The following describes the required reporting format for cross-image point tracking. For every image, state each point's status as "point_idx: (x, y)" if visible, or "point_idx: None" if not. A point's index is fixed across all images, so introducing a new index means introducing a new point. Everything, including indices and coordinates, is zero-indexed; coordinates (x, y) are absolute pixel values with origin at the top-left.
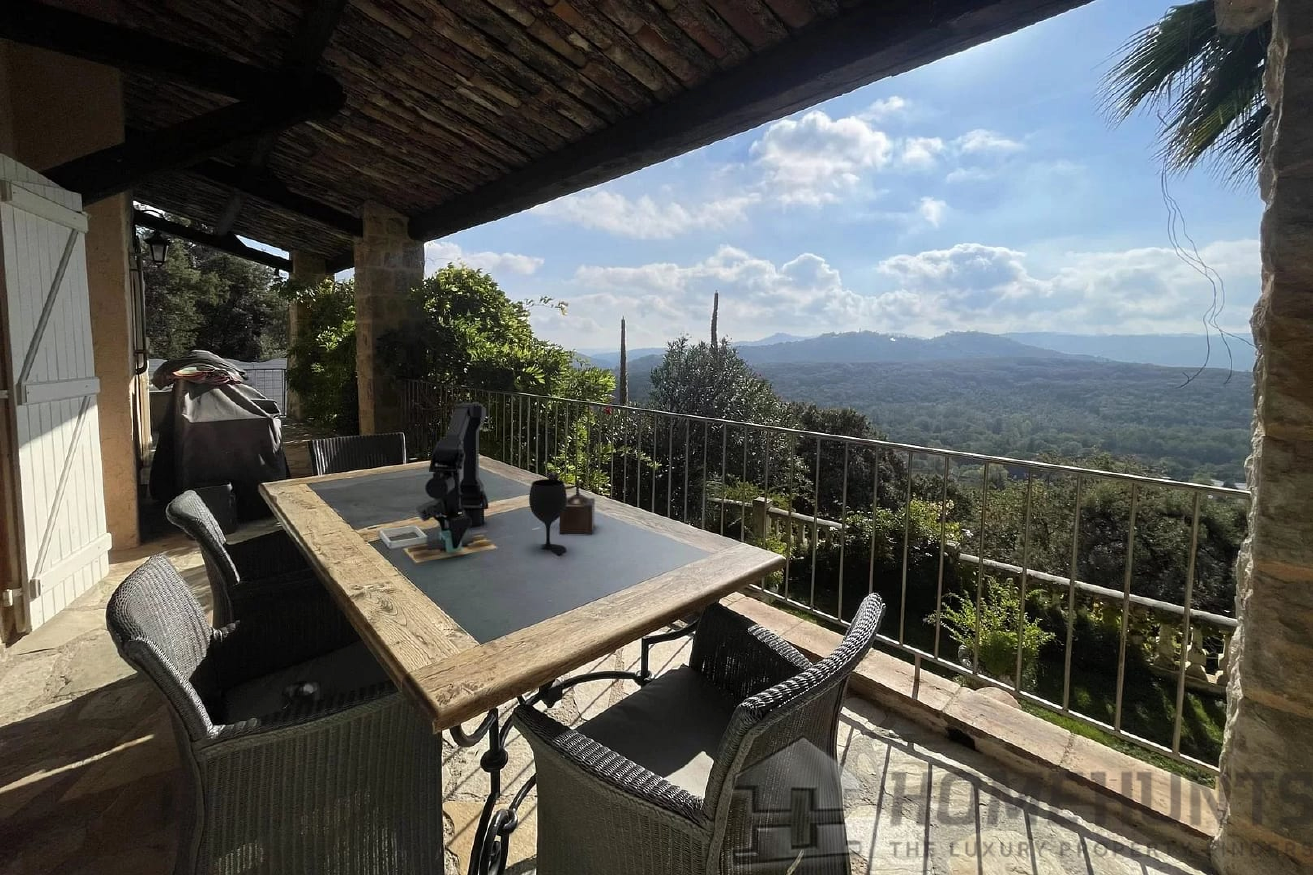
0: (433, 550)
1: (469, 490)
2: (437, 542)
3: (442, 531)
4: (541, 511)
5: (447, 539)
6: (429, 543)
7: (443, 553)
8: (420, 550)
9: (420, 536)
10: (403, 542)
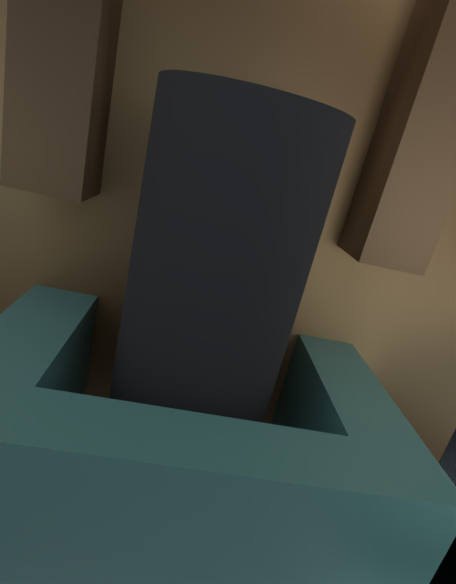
0: (48, 90)
1: None
2: (168, 260)
3: (433, 552)
4: None
5: None
6: (207, 86)
7: (42, 237)
8: (403, 47)
9: None
10: None
